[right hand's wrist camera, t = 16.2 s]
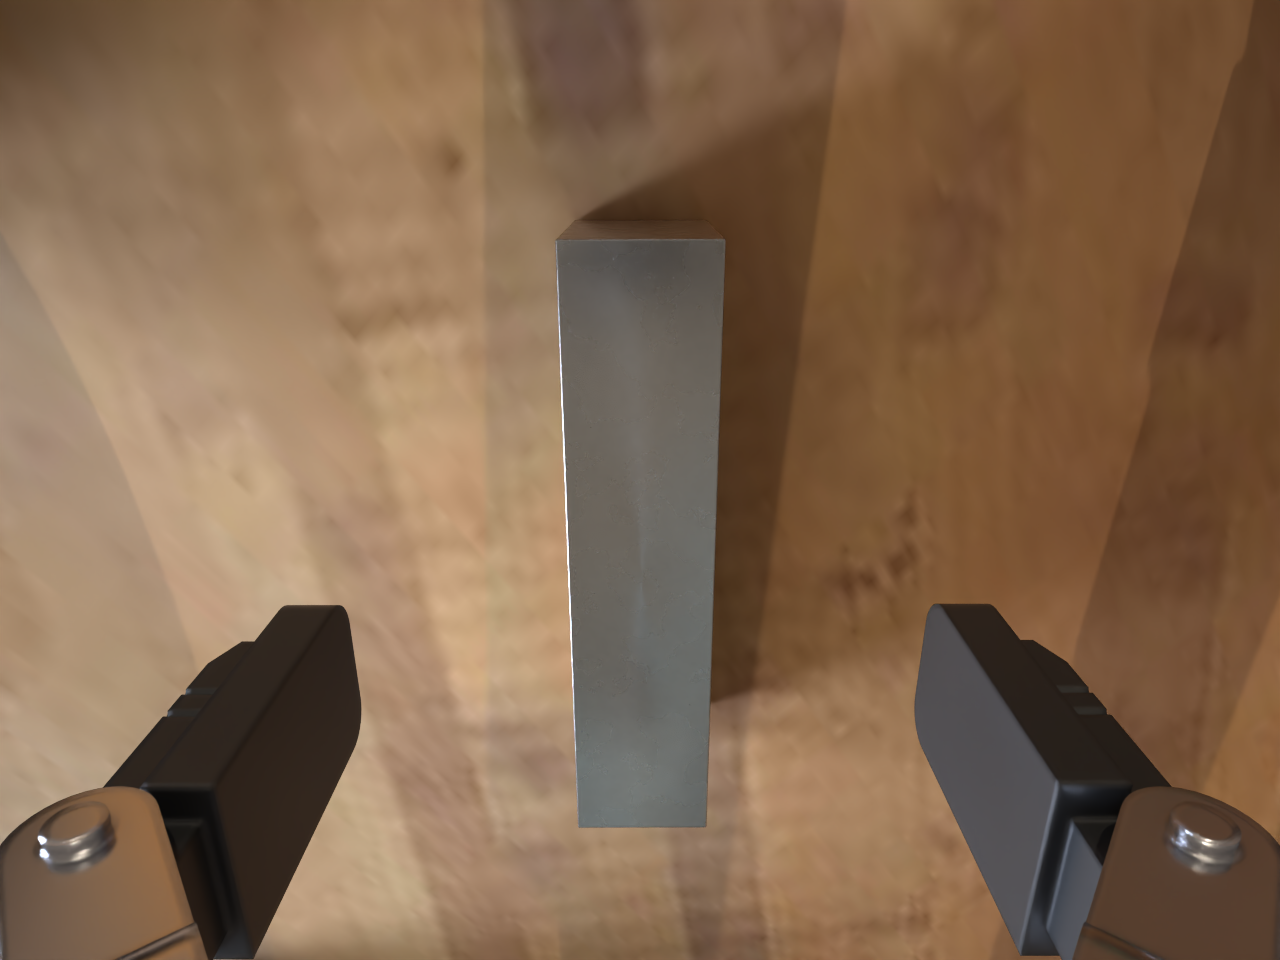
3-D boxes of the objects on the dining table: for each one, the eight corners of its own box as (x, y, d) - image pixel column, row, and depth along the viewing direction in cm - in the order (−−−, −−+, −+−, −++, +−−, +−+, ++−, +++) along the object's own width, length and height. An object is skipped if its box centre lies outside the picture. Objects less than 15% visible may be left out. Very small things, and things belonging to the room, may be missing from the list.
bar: (574, 220, 36) (555, 239, 28) (706, 220, 36) (725, 238, 28) (589, 708, 45) (578, 828, 37) (694, 708, 45) (706, 827, 37)
